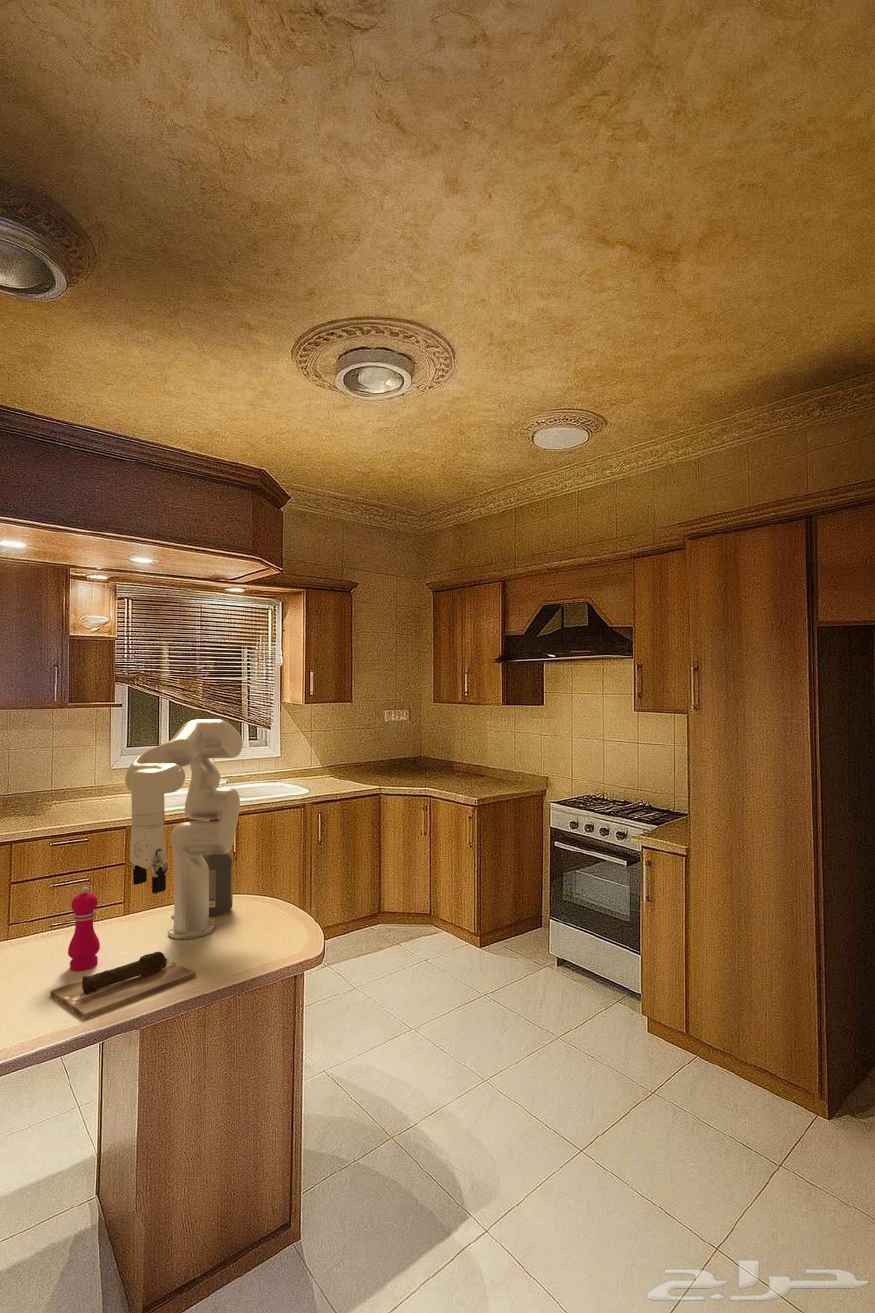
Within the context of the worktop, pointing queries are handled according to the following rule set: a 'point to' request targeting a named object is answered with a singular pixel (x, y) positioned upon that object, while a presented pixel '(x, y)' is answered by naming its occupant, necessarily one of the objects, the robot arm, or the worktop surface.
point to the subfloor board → (120, 990)
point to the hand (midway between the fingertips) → (149, 887)
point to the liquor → (220, 883)
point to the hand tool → (125, 972)
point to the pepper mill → (84, 932)
